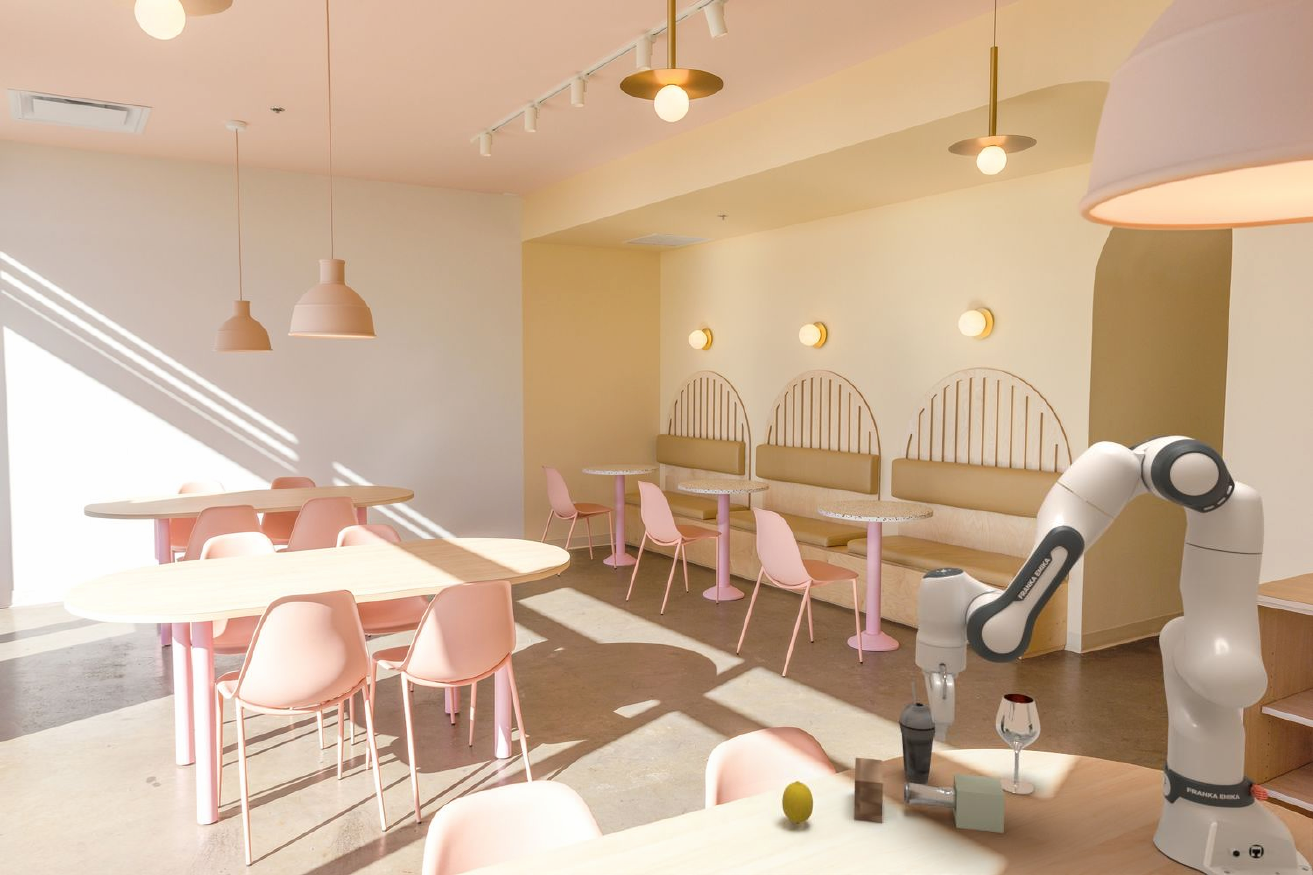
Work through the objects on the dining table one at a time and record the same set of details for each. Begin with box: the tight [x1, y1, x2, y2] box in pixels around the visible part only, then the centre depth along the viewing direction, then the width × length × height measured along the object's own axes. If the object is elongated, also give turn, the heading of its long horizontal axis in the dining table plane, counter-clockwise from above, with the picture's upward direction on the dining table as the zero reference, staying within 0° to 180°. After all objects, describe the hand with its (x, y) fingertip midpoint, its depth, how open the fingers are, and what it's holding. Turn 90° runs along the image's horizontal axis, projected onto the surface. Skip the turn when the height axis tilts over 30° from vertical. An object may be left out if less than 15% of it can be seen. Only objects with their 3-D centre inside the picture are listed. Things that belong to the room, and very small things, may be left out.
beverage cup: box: [898, 681, 935, 785], centre depth 177 cm, size 7×7×20 cm
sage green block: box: [952, 773, 1006, 834], centre depth 161 cm, size 8×7×7 cm
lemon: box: [781, 780, 814, 825], centre depth 160 cm, size 6×6×8 cm
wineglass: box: [995, 692, 1041, 795], centre depth 174 cm, size 8×8×18 cm
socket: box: [853, 757, 884, 824], centre depth 165 cm, size 5×10×8 cm, turn 166°
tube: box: [903, 782, 957, 810], centre depth 162 cm, size 16×4×4 cm, turn 76°
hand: (938, 729), depth 162 cm, fingers open, 8 cm apart
